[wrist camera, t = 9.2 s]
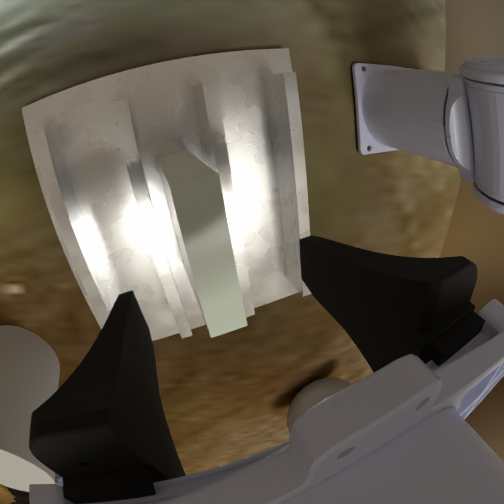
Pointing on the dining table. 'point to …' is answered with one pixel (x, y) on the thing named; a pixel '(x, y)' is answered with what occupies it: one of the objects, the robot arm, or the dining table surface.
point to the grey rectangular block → (203, 239)
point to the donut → (313, 396)
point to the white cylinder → (23, 403)
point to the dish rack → (150, 183)
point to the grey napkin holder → (19, 496)
